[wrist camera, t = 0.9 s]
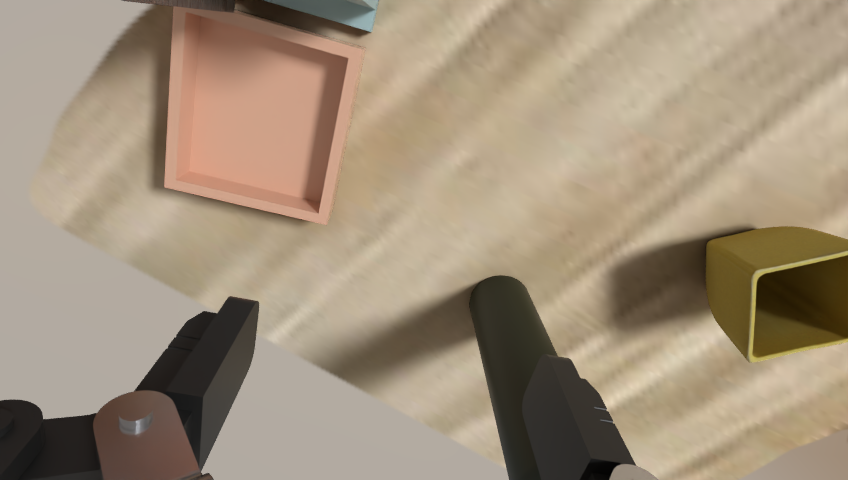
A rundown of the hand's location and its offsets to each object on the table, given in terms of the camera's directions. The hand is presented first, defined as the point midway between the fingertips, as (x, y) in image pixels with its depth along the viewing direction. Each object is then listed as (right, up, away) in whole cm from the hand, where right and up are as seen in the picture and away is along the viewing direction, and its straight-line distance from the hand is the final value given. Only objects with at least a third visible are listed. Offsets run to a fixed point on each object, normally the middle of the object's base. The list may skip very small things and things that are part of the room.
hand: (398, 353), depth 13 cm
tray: (-12, +13, +24) cm, 30 cm away
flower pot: (+30, +2, +31) cm, 43 cm away
